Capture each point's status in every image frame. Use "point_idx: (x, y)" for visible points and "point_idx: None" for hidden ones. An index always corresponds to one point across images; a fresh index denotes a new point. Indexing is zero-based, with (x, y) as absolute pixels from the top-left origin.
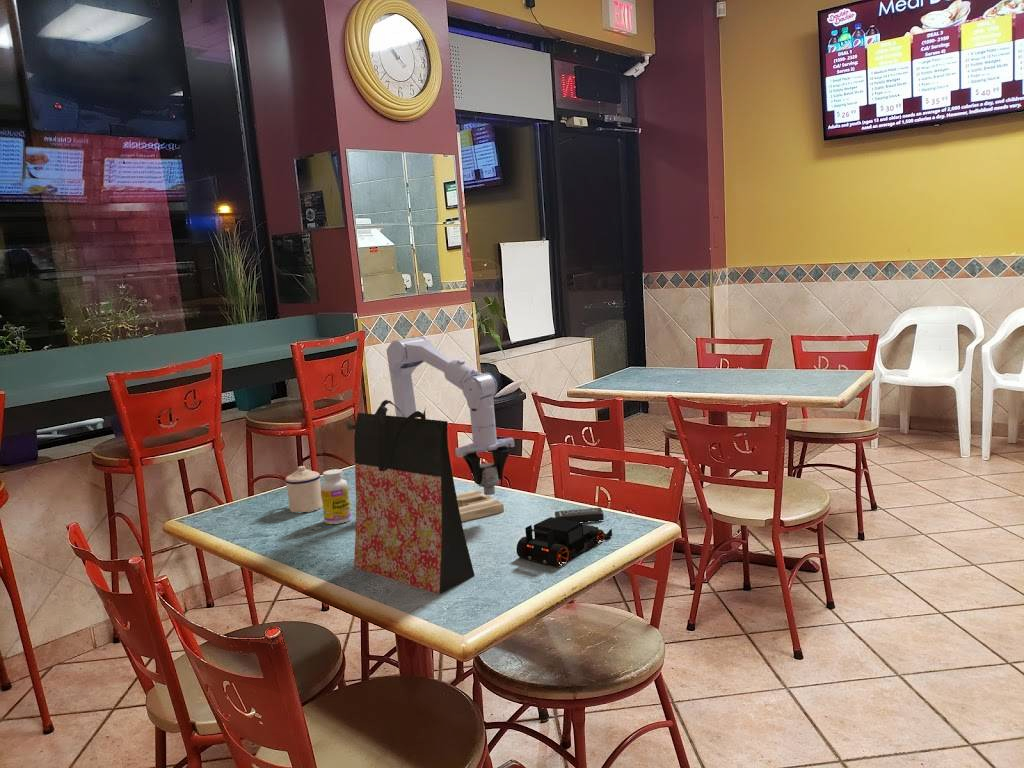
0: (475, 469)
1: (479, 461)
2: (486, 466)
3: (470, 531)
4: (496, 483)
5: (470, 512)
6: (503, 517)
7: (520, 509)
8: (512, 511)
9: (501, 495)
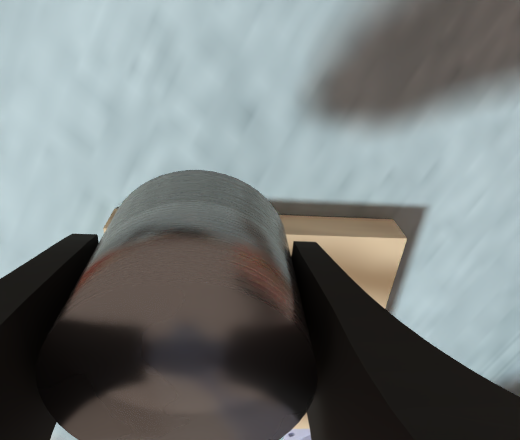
0: (410, 332)
1: (411, 415)
2: (203, 372)
3: (381, 70)
4: (157, 182)
5: (289, 231)
6: (150, 139)
7: (29, 184)
8: (76, 185)
9: None
